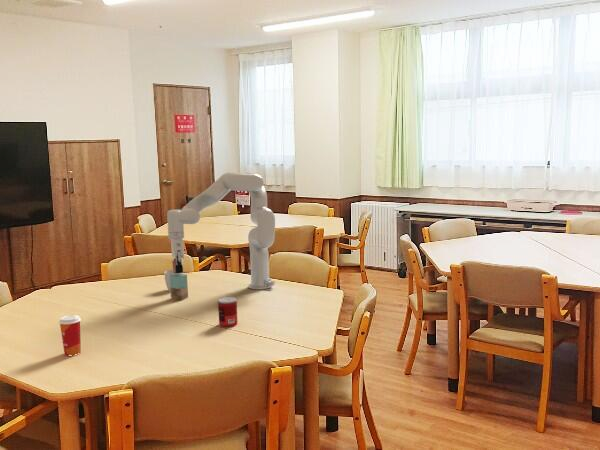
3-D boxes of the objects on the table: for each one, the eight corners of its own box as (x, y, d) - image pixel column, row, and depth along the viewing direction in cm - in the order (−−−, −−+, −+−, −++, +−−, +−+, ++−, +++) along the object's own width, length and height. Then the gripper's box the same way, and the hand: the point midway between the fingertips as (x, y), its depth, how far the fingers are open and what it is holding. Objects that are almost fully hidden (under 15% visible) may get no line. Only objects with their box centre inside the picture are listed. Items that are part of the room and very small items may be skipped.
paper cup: (65, 350, 230) (62, 314, 228) (85, 349, 230) (83, 313, 228) (58, 358, 222) (55, 321, 220) (80, 356, 223) (77, 320, 221)
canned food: (240, 322, 259) (239, 297, 257) (232, 328, 252) (231, 302, 250) (224, 321, 262) (223, 296, 260) (216, 326, 254) (214, 301, 252)
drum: (185, 271, 299) (184, 259, 298) (178, 274, 294) (178, 261, 293) (177, 270, 301) (177, 259, 300) (170, 273, 297) (170, 261, 296)
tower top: (187, 286, 299) (186, 274, 298) (177, 289, 295) (176, 276, 294) (180, 284, 303) (179, 273, 302) (170, 287, 299) (169, 275, 298)
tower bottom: (188, 297, 301) (187, 285, 300) (181, 300, 296) (181, 288, 295) (177, 296, 303) (177, 284, 302) (171, 299, 298) (170, 287, 297)
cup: (177, 292, 311) (176, 273, 310) (162, 292, 313) (161, 273, 311) (183, 288, 319) (182, 270, 318) (169, 288, 321) (168, 269, 319)
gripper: (187, 237, 288) (189, 274, 291) (180, 232, 304) (182, 267, 307) (171, 238, 286) (173, 276, 288) (165, 233, 301) (167, 268, 304)
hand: (178, 271), depth 298 cm, fingers closed on drum, 5 cm apart
